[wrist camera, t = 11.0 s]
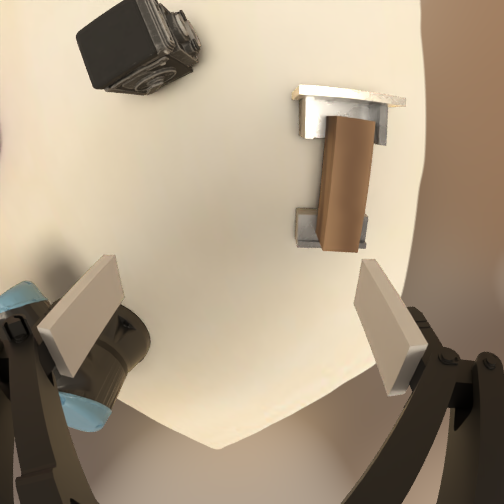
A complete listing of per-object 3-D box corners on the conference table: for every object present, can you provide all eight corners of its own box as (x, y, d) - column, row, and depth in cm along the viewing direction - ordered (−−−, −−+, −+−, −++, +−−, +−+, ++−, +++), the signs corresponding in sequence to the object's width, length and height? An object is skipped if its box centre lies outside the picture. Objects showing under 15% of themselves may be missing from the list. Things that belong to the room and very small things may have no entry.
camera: (215, 71, 35) (189, 47, 22) (148, 103, 37) (94, 100, 24) (189, 13, 31) (155, -28, 18) (125, 46, 33) (68, 26, 20)
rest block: (294, 236, 45) (297, 247, 42) (296, 208, 43) (299, 216, 40) (358, 238, 45) (365, 248, 41) (362, 210, 43) (369, 218, 39)
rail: (315, 232, 41) (322, 250, 36) (326, 115, 35) (337, 115, 29) (346, 234, 41) (357, 252, 36) (359, 120, 34) (375, 121, 29)
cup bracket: (291, 135, 39) (299, 140, 30) (291, 92, 36) (299, 84, 27) (374, 141, 38) (403, 149, 29) (375, 100, 36) (405, 98, 27)
